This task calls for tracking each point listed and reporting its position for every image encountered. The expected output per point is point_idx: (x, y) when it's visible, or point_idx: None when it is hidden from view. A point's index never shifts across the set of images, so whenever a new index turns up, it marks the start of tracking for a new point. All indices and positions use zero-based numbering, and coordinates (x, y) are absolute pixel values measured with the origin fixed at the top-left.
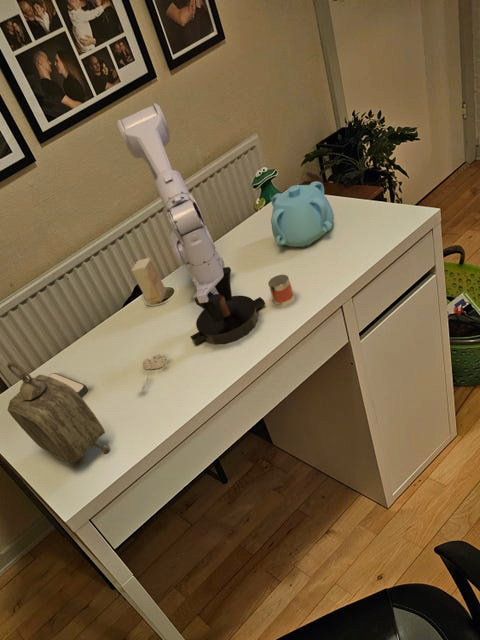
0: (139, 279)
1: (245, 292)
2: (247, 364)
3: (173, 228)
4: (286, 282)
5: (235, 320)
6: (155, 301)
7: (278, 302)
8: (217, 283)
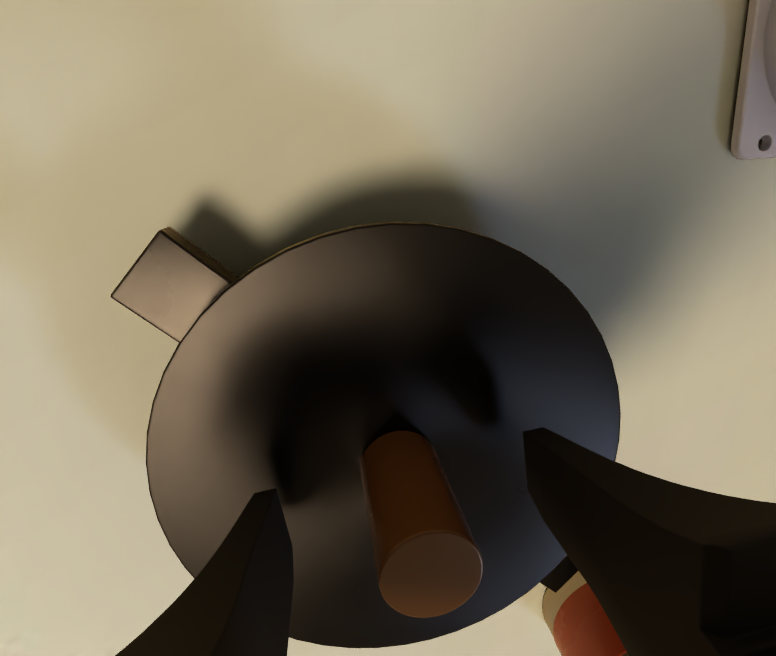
0: None
1: (723, 340)
2: (74, 649)
3: None
4: None
5: (327, 571)
6: None
7: (555, 620)
8: (631, 559)
